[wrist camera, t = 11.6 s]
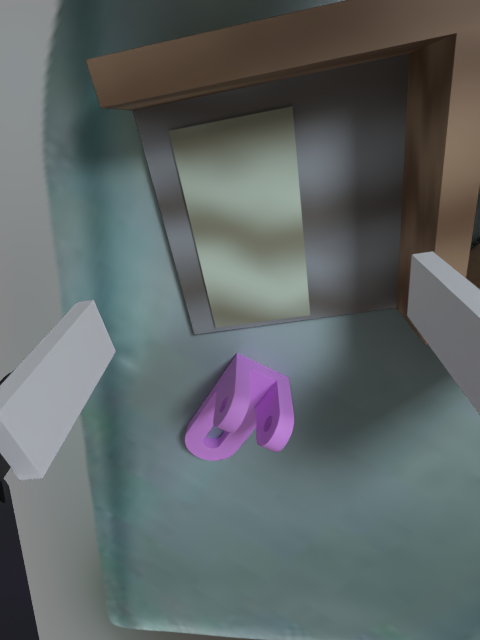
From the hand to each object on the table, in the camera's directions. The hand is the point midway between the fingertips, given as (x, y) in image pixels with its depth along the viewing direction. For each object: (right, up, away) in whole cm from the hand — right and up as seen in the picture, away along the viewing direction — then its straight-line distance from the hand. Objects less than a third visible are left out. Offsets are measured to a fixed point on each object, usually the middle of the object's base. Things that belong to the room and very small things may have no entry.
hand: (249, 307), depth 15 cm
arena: (+3, +8, +11) cm, 14 cm away
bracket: (-1, -9, +21) cm, 23 cm away
